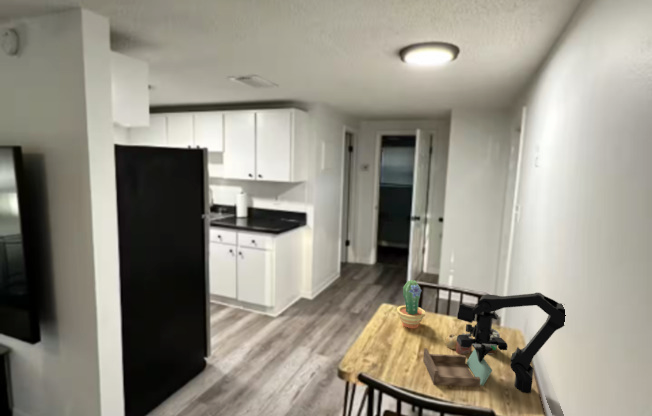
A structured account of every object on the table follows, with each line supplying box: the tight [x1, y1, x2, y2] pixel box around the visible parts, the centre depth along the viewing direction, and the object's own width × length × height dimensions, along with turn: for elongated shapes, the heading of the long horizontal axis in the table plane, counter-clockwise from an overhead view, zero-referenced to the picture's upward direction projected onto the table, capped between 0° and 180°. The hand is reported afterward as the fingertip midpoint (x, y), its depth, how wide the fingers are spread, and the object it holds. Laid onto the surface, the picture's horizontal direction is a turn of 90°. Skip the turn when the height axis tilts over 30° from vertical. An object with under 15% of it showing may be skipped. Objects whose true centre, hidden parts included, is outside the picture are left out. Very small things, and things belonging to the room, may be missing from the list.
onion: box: [444, 333, 458, 351], centre depth 173 cm, size 8×8×7 cm
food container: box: [487, 328, 501, 355], centre depth 170 cm, size 12×6×10 cm, turn 168°
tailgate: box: [465, 348, 493, 386], centre depth 150 cm, size 1×16×8 cm, turn 179°
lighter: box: [455, 332, 474, 355], centre depth 167 cm, size 8×3×10 cm, turn 105°
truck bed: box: [423, 347, 481, 388], centre depth 150 cm, size 18×17×7 cm
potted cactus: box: [396, 279, 426, 329], centre depth 196 cm, size 15×15×25 cm
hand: (479, 361), depth 149 cm, fingers closed
